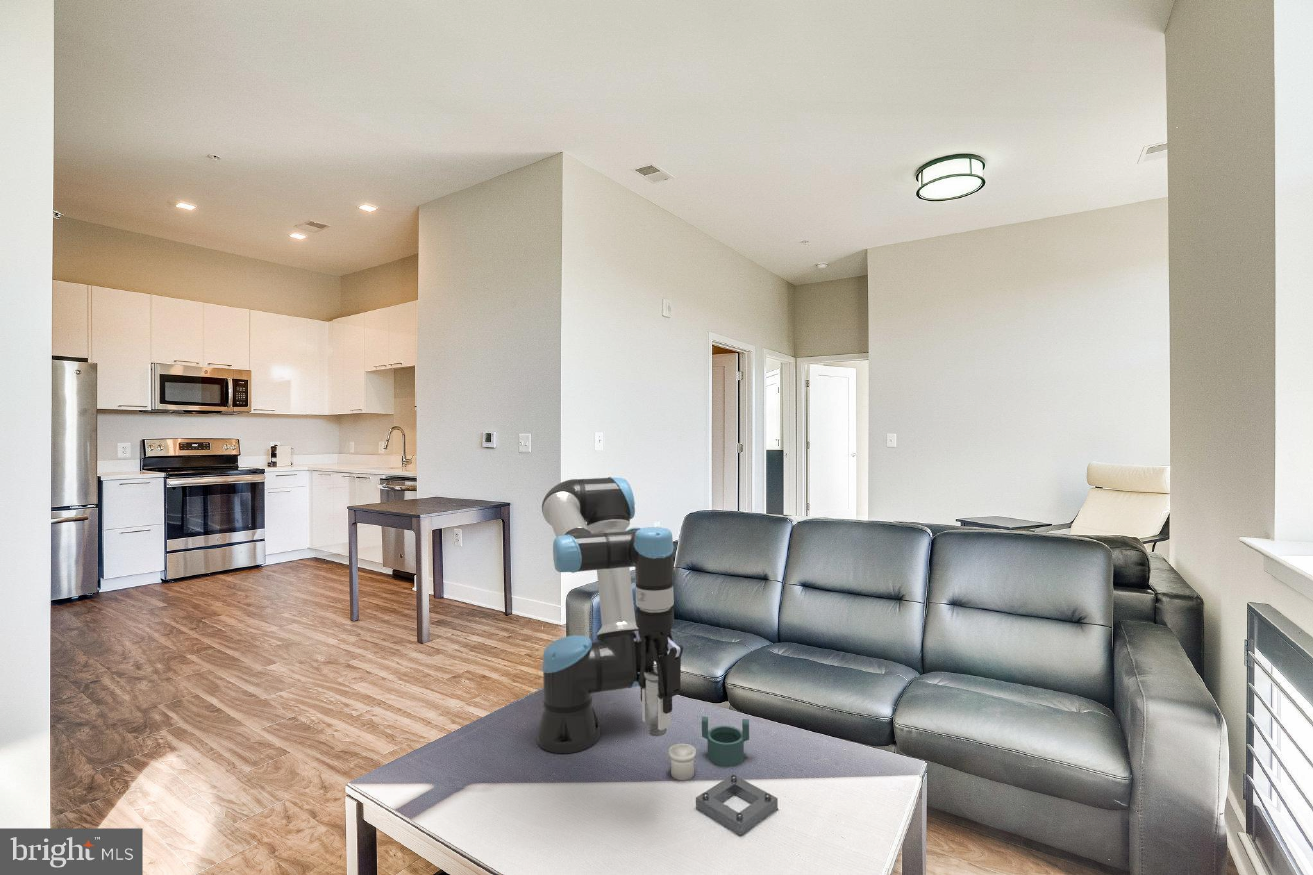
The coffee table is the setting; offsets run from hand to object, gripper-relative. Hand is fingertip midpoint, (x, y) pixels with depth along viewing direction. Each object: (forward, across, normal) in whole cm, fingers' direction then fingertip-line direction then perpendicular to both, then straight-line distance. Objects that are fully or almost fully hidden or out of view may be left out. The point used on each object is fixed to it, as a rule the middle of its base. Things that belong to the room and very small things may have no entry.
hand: (656, 722), depth 122 cm
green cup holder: (+17, -2, +23) cm, 28 cm away
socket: (+16, +12, +10) cm, 23 cm away
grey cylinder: (+2, 0, 0) cm, 2 cm away
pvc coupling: (+16, -4, +11) cm, 20 cm away
